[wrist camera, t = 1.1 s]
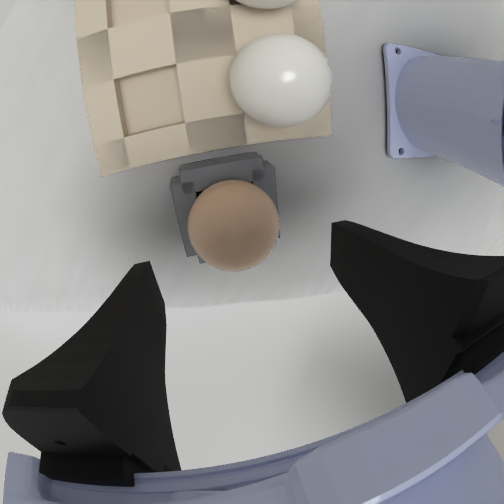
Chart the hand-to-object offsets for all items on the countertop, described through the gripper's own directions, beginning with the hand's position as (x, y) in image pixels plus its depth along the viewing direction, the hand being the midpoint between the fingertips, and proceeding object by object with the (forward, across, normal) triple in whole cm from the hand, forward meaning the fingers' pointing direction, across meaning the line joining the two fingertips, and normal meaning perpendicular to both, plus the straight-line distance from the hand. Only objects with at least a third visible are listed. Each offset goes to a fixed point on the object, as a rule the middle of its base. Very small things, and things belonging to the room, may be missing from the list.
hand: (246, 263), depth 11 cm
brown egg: (+3, 0, 0) cm, 3 cm away
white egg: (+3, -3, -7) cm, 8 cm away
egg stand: (+7, 0, 0) cm, 7 cm away
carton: (+7, 0, -10) cm, 12 cm away
